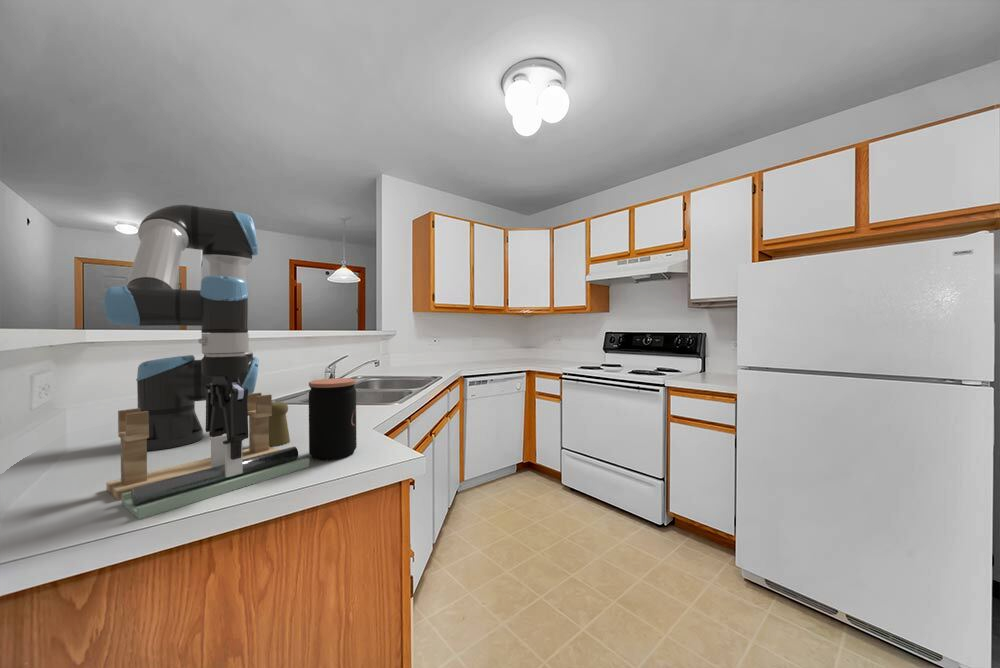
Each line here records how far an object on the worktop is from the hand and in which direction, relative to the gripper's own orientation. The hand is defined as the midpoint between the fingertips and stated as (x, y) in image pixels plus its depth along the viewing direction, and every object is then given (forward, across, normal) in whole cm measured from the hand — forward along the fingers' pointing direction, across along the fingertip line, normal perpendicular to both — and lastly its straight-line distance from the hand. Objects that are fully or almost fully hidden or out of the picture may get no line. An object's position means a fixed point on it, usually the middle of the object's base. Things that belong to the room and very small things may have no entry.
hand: (226, 471), depth 75 cm
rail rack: (+2, -12, 0) cm, 12 cm away
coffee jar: (+3, +2, +22) cm, 22 cm away
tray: (+2, 0, 0) cm, 2 cm away
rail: (0, 0, 0) cm, 0 cm away
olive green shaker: (+3, -20, +19) cm, 27 cm away
